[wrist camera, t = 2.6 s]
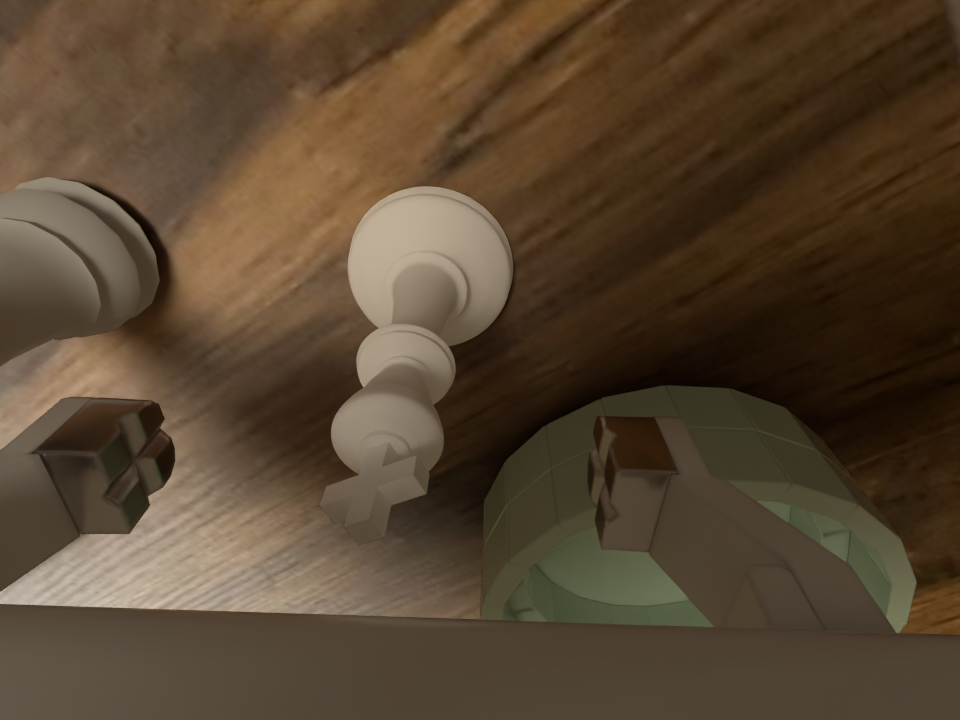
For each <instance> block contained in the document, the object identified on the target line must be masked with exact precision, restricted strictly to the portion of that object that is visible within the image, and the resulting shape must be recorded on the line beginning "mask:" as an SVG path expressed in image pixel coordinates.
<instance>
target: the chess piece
mask: <svg viewBox="0 0 960 720" xmlns="http://www.w3.org/2000/svg"><path fill="white" fill-rule="evenodd" d="M348 277H349V282H350V286H351V290H352V293H353V295H354V297H355V300H356V302H357V303H358V305H359V307H360V308H361V310H362V311H363V313H364V314H365V315H366V316H367V318H368V319H369V320H370V321H371V322H372V323H373V324H374V325H375V326H377V327H378V329H376V330H375V331H373V332H372V333H370V334H369V335H368V336H367V337H366V338H365V339H364V341H363V342H362V344H361V345H360V347H359V350H358V353H357V359H356V365H357V372H358V377H359V380H360V383H361V384H362V386H363V389H361V390H359V391H358V392H356V393H355V394H354V395H353V396H351V397H350V398H349V399H348V400H347V401H346V402H345V403H344V404H343V405H342V406H341V408H340V409H339V410H338V412H337V413H336V415H335V417H334V419H333V422H332V426H331V440H332V444H333V447H334V449H335V452H336V453H337V455H338V456H339V458H340V459H341V460H342V462H343V463H344V464H345V465H346V466H348V467H349V468H350V469H351V470H353V471H354V472H356V473H357V474H359V475H358V476H355V477H352V478H349V479H346V480H343V481H340V482H337V483H334V484H331V485H328V486H326V488H325V491H324V494H323V497H322V499H321V502H320V505H319V507H320V508H321V509H322V510H323V511H324V513H325V514H326V515H327V516H328V517H329V518H330V520H331V521H332V522H333V523H334V524H335V523H338V522H341V521H344V520H345V523H344V526H343V527H344V528H345V529H346V531H347V532H348V533H349V534H350V535H351V537H352V538H353V539H354V540H355V541H356V542H357V544H358V545H362V544H365V543H368V542H372V541H375V540H378V539H382V538H384V537H385V532H386V528H387V523H388V518H389V514H390V509H391V505H394V504H397V503H400V502H403V501H406V500H409V499H412V498H416V497H419V496H422V495H425V494H427V488H428V481H429V472H428V471H429V470H431V469H432V468H433V467H434V466H435V464H436V463H437V462H438V460H439V458H440V456H441V454H442V451H443V447H444V433H443V428H442V424H441V421H440V418H439V415H438V413H437V411H436V409H435V407H434V404H435V403H437V402H438V401H439V400H441V399H442V398H443V397H444V395H445V394H446V393H447V391H448V390H449V389H450V387H451V385H452V383H453V381H454V378H455V372H456V366H455V360H454V357H453V354H452V352H451V350H450V348H449V347H448V346H452V345H456V344H460V343H463V342H465V341H467V340H470V339H472V338H474V337H475V336H477V335H479V334H480V333H481V332H483V331H484V330H485V329H487V328H488V327H489V326H490V325H491V324H492V323H493V322H494V320H495V319H496V318H497V317H498V315H499V314H500V312H501V310H502V309H503V307H504V305H505V302H506V300H507V297H508V294H509V290H510V287H511V283H512V277H513V258H512V252H511V248H510V245H509V242H508V239H507V237H506V235H505V233H504V231H503V229H502V228H501V226H500V225H499V223H498V222H497V220H496V219H495V218H494V217H493V216H492V215H491V213H490V212H489V211H487V210H486V209H485V208H484V207H483V206H482V205H480V204H479V203H478V202H476V201H475V200H473V199H471V198H470V197H468V196H466V195H464V194H462V193H459V192H456V191H453V190H450V189H446V188H441V187H431V186H422V187H413V188H408V189H404V190H400V191H398V192H395V193H393V194H391V195H389V196H387V197H385V198H383V199H382V200H380V201H379V202H378V203H376V204H375V205H374V206H373V207H372V208H371V209H370V210H369V211H368V212H367V213H366V214H365V215H364V217H363V218H362V219H361V221H360V223H359V224H358V226H357V228H356V230H355V232H354V235H353V238H352V242H351V246H350V251H349V256H348Z"/></svg>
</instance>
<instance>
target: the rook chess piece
mask: <svg viewBox="0 0 960 720" xmlns="http://www.w3.org/2000/svg"><path fill="white" fill-rule="evenodd" d="M158 284H159V274H158V268H157V262H156V255H155V252H154V249H153V247H152V245H151V244H150V242H149V240H148V238H147V236H146V235H145V233H144V231H143V229H142V228H141V226H140V224H139V223H138V222H137V221H136V220H134V219H133V218H132V217H131V216H130V215H129V214H128V213H127V212H126V211H125V210H124V209H123V208H122V207H121V206H120V205H119V204H118V203H116V202H115V201H113V200H112V199H110V198H108V197H106V196H104V195H102V194H100V193H98V192H96V191H95V190H93V189H91V188H89V187H87V186H85V185H83V184H81V183H78V182H73V181H67V180H61V179H55V178H50V177H45V178H41V179H37V180H33V181H29V182H25V183H21V184H19V185H18V186H17V187H16V188H15V189H14V190H13V191H10V192H6V193H2V194H0V367H1V366H2V365H3V364H5V363H6V362H8V361H9V360H11V359H13V358H15V357H17V356H19V355H21V354H23V353H25V352H27V351H29V350H31V349H33V348H35V347H37V346H40V345H42V344H44V343H46V342H48V341H50V340H52V339H57V340H63V339H68V338H72V337H81V338H82V337H87V336H92V335H97V334H101V333H106V332H109V331H112V330H115V329H117V328H118V327H120V326H121V325H122V324H123V323H125V322H126V321H127V320H128V319H130V318H135V317H136V316H137V315H138V314H140V313H141V312H142V311H143V310H145V309H146V308H147V307H148V306H149V305H151V304H152V302H153V299H154V296H155V293H156V290H157V287H158Z"/></svg>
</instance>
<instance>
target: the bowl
mask: <svg viewBox="0 0 960 720" xmlns="http://www.w3.org/2000/svg"><path fill="white" fill-rule="evenodd" d="M597 416H624V417H652V416H678V417H680V418H681V419H683V421H684V423H685V425H686V427H687V429H688V431H689V433H690V435H691V437H692V438H693V440H694V442H695V444H696V446H697V448H698V450H699V452H700V454H701V456H702V458H703V460H704V462H705V464H706V466H707V468H708V469H709V471H710V473H711V475H712V476H717V477H722V478H723V479H724V480H726V481H727V482H729V483H730V484H732V485H733V486H735V487H736V488H738V489H739V490H741V491H742V492H744V493H745V494H747V495H748V496H750V497H751V498H752V499H754V500H755V501H757V502H758V503H760V504H761V505H763V506H764V507H766V508H767V509H769V510H770V511H772V512H773V513H775V514H776V515H777V516H779V517H780V518H782V519H783V520H785V521H786V522H788V523H789V524H791V525H792V526H794V527H795V528H797V529H798V530H800V531H801V532H802V533H804V534H805V535H807V536H808V537H810V538H811V539H813V540H814V541H816V542H817V543H819V544H820V545H822V546H823V547H825V548H826V549H827V550H829V551H830V552H832V553H833V554H835V555H836V556H838V557H839V558H841V559H842V560H844V561H845V562H847V563H848V564H850V565H851V566H852V568H853V569H854V571H855V572H856V574H857V575H858V577H859V578H860V580H861V581H862V583H863V584H864V586H865V587H866V589H867V590H868V592H869V593H870V594H871V596H872V597H873V599H874V600H875V602H876V603H877V605H878V606H879V608H880V609H881V611H882V612H883V614H884V615H885V617H886V618H887V619H888V621H889V622H890V624H891V625H892V627H893V628H894V630H895V631H896V633H900V631H901V630H902V629H903V628H904V626H905V625H906V623H907V622H908V618H909V614H910V610H911V605H912V601H913V597H914V592H915V588H916V584H917V582H916V578H915V575H914V572H913V570H912V567H911V564H910V562H909V559H908V556H907V554H906V551H905V548H904V546H903V543H902V540H901V539H900V537H899V536H898V535H897V533H896V532H895V531H894V530H893V528H892V527H891V526H890V524H889V523H888V522H887V521H886V519H885V518H884V517H883V516H882V514H881V513H880V512H879V511H878V509H877V508H876V507H875V506H874V504H873V503H872V502H871V500H870V499H869V498H868V497H867V495H866V494H865V493H864V492H863V490H862V489H861V488H860V487H859V485H858V484H857V483H856V482H855V480H854V479H853V478H852V476H851V475H850V474H849V473H848V471H847V470H846V469H845V468H844V466H843V465H842V464H841V463H840V461H839V460H838V459H837V457H836V456H835V455H834V454H833V452H832V451H831V450H830V449H829V447H828V446H827V445H826V444H825V442H824V441H823V440H822V439H821V437H819V436H818V435H817V434H816V433H815V432H813V431H812V430H811V429H810V428H809V427H808V426H806V425H805V424H804V423H803V422H802V421H800V420H799V419H798V418H797V417H796V416H795V415H793V414H792V413H791V412H790V411H789V410H787V409H786V408H784V407H782V406H779V405H777V404H774V403H771V402H768V401H765V400H762V399H759V398H757V397H754V396H751V395H748V394H745V393H742V392H739V391H737V390H734V389H728V388H716V387H696V386H676V385H666V386H664V385H662V386H657V387H652V388H647V389H642V390H637V391H633V392H628V393H623V394H618V395H613V396H608V397H603V398H601V400H600V399H599V400H596V401H594V402H592V403H590V404H588V405H586V406H584V407H582V408H580V409H578V410H575V411H573V412H571V413H569V414H567V415H565V416H563V417H561V418H559V419H557V420H555V421H553V422H551V423H549V424H547V425H546V426H543V427H542V428H541V429H540V430H539V431H538V432H537V433H536V434H534V435H533V436H532V437H531V438H530V439H529V440H528V441H527V442H526V443H524V444H523V445H522V446H521V447H520V448H519V449H518V450H517V451H516V452H514V453H513V454H512V455H511V456H510V457H509V458H508V459H507V460H506V462H505V463H504V465H503V467H502V468H501V470H500V472H499V474H498V476H497V478H496V480H495V481H494V483H493V485H492V487H491V489H490V491H489V493H488V494H487V496H486V498H485V501H484V511H483V526H482V548H481V591H480V620H508V621H539V622H571V623H603V624H634V625H666V626H697V627H714V626H713V625H712V624H711V623H710V622H709V621H708V620H707V618H706V617H705V616H704V615H703V614H702V613H701V612H700V611H699V610H698V608H697V607H696V606H695V605H694V604H693V603H692V602H691V601H690V600H689V599H688V597H687V596H686V595H685V594H684V593H683V592H682V591H681V590H680V589H679V587H678V586H677V585H676V584H675V583H674V582H673V581H672V580H671V579H670V577H669V576H668V575H667V574H666V573H665V572H664V571H663V570H662V569H661V568H660V566H659V565H658V564H657V563H656V562H655V561H654V560H653V559H652V558H651V556H650V555H649V552H636V551H619V550H602V549H601V547H600V543H599V538H598V534H597V529H596V525H595V514H596V509H597V507H596V506H595V505H594V504H593V503H592V502H591V501H590V497H589V492H588V484H587V466H588V459H589V452H590V451H591V450H592V449H593V448H594V447H595V446H596V444H595V440H594V436H593V430H594V424H595V421H596V418H597Z"/></svg>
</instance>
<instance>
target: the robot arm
mask: <svg viewBox="0 0 960 720" xmlns="http://www.w3.org/2000/svg"><path fill="white" fill-rule="evenodd" d="M164 420H165V418H164V416H163V413H162V411H161V408H160V406H159V404H157V403H155V402H153V401H151V400H135V399H117V398H94V397H68V398H64V399H61V400H60V401H59V402H58V403H56V404H55V405H54V406H53V407H52V408H50V409H49V410H48V411H47V412H46V413H45V414H43V415H42V416H41V417H40V418H39V419H37V420H36V421H35V422H34V423H33V424H31V425H30V426H29V427H28V428H27V429H26V430H24V431H23V432H22V433H21V434H20V435H18V436H17V437H16V438H15V439H14V440H12V441H11V442H10V443H9V444H8V445H7V446H5V447H4V448H3V449H2V450H1V451H0V591H2V590H3V589H5V588H6V587H8V586H9V585H10V584H12V583H13V582H15V581H16V580H18V579H19V578H21V577H22V576H23V575H25V574H26V573H28V572H29V571H31V570H32V569H33V568H35V567H36V566H38V565H39V564H41V563H42V562H44V561H45V560H46V559H48V558H49V557H51V556H52V555H54V554H55V553H57V552H58V551H59V550H61V549H62V548H64V547H65V546H67V545H68V544H69V543H71V542H72V541H74V540H75V539H77V538H78V537H80V534H130V532H131V531H132V529H133V528H134V527H135V525H136V524H137V523H138V521H139V520H140V518H141V517H142V516H143V514H144V513H145V512H146V510H147V509H148V507H149V506H150V504H149V499H148V496H149V495H151V494H152V493H154V492H156V491H158V490H159V489H161V488H163V487H164V485H165V484H166V482H167V481H168V479H169V478H170V476H171V474H172V470H173V467H174V463H175V448H174V445H173V442H172V439H171V437H170V436H168V435H167V434H166V433H165V432H164V431H163V430H161V429H160V427H161V425H162V423H163V421H164ZM593 436H594V440H595V444H596V446H595V447H594V448H593V449H592V450H591V451H590V452H589V459H588V466H587V484H588V492H589V497H590V501H591V502H592V503H593V504H594V505H595V506H596V507H597V509H596V514H595V525H596V529H597V534H598V538H599V543H600V547H601V549H602V550H619V551H636V552H649V555H650V556H651V558H652V559H653V560H654V561H655V562H656V563H657V564H658V565H659V566H660V568H661V569H662V570H663V571H664V572H665V573H666V574H667V575H668V576H669V577H670V579H671V580H672V581H673V582H674V583H675V584H676V585H677V586H678V587H679V589H680V590H681V591H682V592H683V593H684V594H685V595H686V596H687V597H688V599H689V600H690V601H691V602H692V603H693V604H694V605H695V606H696V607H697V608H698V610H699V611H700V612H701V613H702V614H703V615H704V616H705V617H706V618H707V620H708V621H709V622H710V623H711V624H712V625H713V626H714V627H697V626H666V625H634V624H603V623H571V622H539V621H508V620H478V619H448V618H418V617H388V616H357V615H326V614H295V613H263V612H232V611H200V610H169V609H138V608H107V607H76V606H45V605H13V604H0V720H960V635H945V634H914V633H896V631H895V630H894V628H893V627H892V625H891V624H890V622H889V621H888V619H887V618H886V617H885V615H884V614H883V612H882V611H881V609H880V608H879V606H878V605H877V603H876V602H875V600H874V599H873V597H872V596H871V594H870V593H869V592H868V590H867V589H866V587H865V586H864V584H863V583H862V581H861V580H860V578H859V577H858V575H857V574H856V572H855V571H854V569H853V568H852V566H851V565H850V564H848V563H847V562H845V561H844V560H842V559H841V558H839V557H838V556H836V555H835V554H833V553H832V552H830V551H829V550H827V549H826V548H825V547H823V546H822V545H820V544H819V543H817V542H816V541H814V540H813V539H811V538H810V537H808V536H807V535H805V534H804V533H802V532H801V531H800V530H798V529H797V528H795V527H794V526H792V525H791V524H789V523H788V522H786V521H785V520H783V519H782V518H780V517H779V516H777V515H776V514H775V513H773V512H772V511H770V510H769V509H767V508H766V507H764V506H763V505H761V504H760V503H758V502H757V501H755V500H754V499H752V498H751V497H750V496H748V495H747V494H745V493H744V492H742V491H741V490H739V489H738V488H736V487H735V486H733V485H732V484H730V483H729V482H727V481H726V480H724V479H723V478H722V477H717V476H712V475H711V473H710V471H709V469H708V468H707V466H706V464H705V462H704V460H703V458H702V456H701V454H700V452H699V450H698V448H697V446H696V444H695V442H694V440H693V438H692V437H691V435H690V433H689V431H688V429H687V427H686V425H685V423H684V421H683V419H681V418H680V417H678V416H652V417H624V416H597V418H596V421H595V424H594V430H593Z"/></svg>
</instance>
